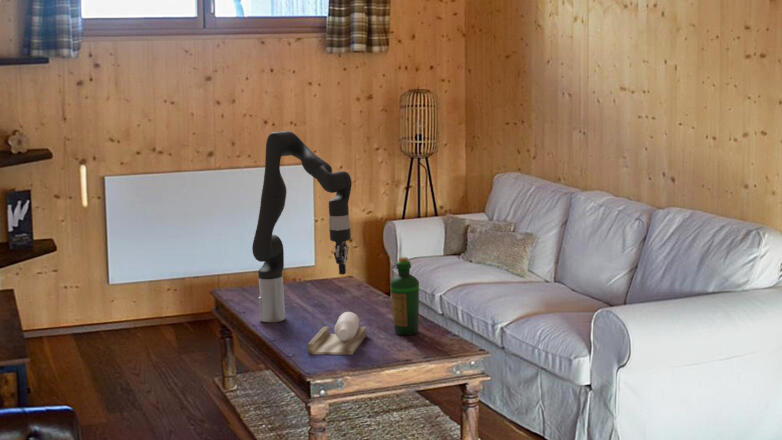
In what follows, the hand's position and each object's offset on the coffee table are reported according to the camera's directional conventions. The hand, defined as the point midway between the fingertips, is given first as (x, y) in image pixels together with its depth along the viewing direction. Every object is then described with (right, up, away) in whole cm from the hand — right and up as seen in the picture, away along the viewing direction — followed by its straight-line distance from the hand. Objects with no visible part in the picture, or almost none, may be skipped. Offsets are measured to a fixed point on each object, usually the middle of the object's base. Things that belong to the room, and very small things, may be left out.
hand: (342, 274), depth 393 cm
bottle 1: (+2, -18, +6) cm, 19 cm away
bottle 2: (+23, -22, +4) cm, 32 cm away
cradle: (-1, -25, -7) cm, 26 cm away
